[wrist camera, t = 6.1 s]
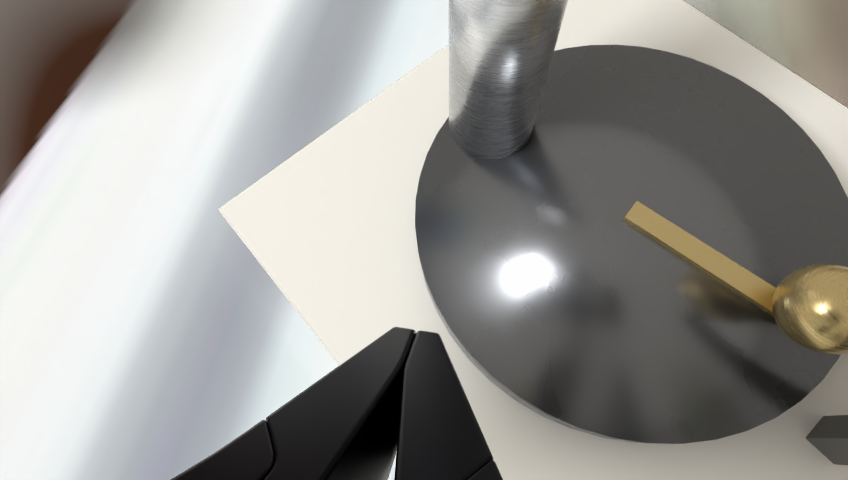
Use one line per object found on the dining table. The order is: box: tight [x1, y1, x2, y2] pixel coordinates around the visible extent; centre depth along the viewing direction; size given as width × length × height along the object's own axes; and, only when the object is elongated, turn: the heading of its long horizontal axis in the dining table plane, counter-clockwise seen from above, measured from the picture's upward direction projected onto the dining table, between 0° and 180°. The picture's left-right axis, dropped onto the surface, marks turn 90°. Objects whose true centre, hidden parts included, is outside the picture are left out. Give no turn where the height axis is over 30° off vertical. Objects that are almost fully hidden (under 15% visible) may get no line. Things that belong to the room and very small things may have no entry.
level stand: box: [218, 0, 848, 480], centre depth 16 cm, size 22×22×5 cm
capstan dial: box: [415, 0, 848, 444], centre depth 12 cm, size 15×15×13 cm
